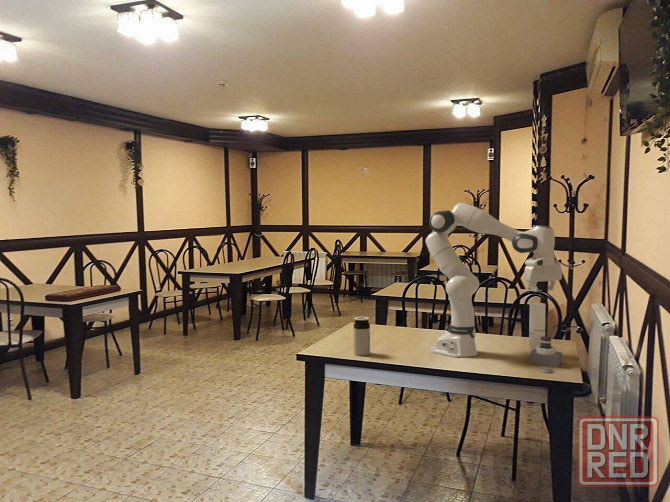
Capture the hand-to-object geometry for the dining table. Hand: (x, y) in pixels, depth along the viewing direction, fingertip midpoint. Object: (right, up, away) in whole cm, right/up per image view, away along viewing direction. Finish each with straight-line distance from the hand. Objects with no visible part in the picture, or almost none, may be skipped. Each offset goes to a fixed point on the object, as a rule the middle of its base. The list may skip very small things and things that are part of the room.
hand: (543, 290), depth 234 cm
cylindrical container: (+2, -32, +14) cm, 35 cm away
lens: (+1, -28, -1) cm, 28 cm away
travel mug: (-82, -33, +18) cm, 90 cm away
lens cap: (-4, -34, -13) cm, 37 cm away
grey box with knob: (+1, -33, -1) cm, 33 cm away
